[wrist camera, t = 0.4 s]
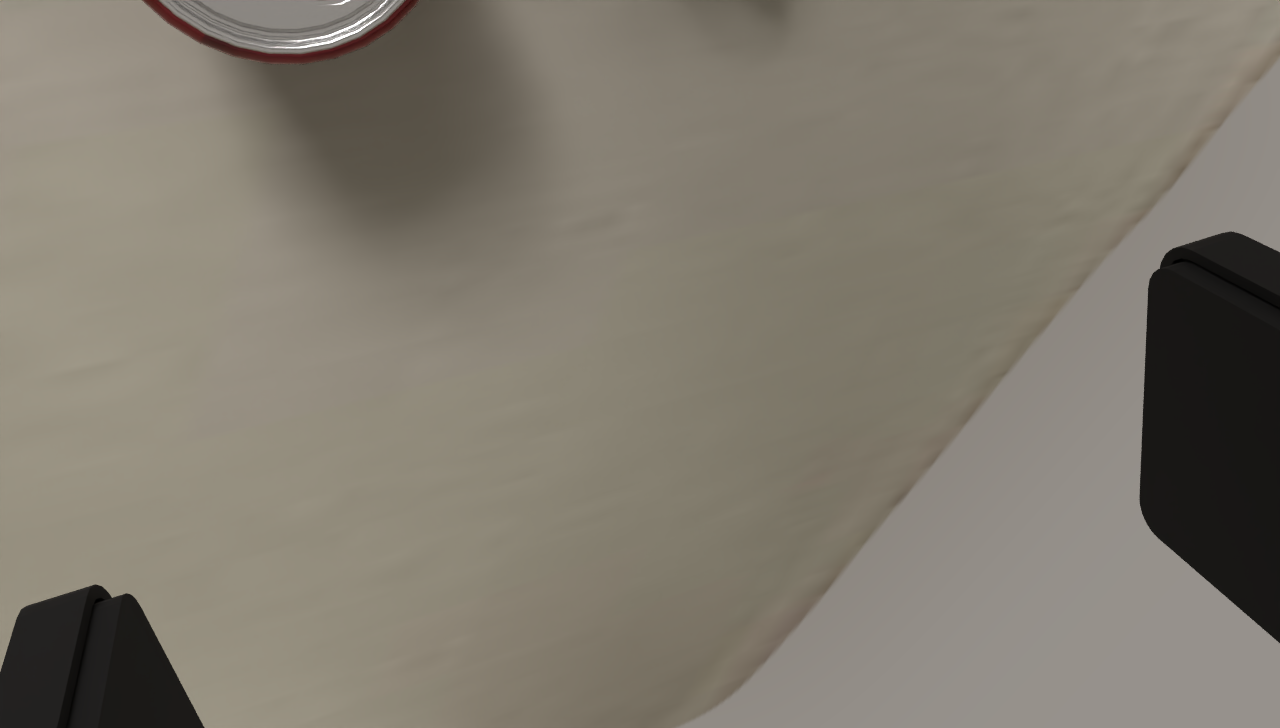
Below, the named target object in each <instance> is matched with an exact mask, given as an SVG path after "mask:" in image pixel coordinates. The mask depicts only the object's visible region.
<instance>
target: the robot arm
mask: <svg viewBox="0 0 1280 728" xmlns="http://www.w3.org/2000/svg"><path fill="white" fill-rule="evenodd" d="M1147 309H1148V310H1147V332H1146V356H1145V357H1146V358H1145V382H1144V404H1143V428H1142V452H1141V476H1140V506H1141V510H1142V514H1143V516H1144V519H1145V520H1146V523H1147V525H1148V526H1149V528H1150V529H1151V531H1152V532H1153V533H1154V534H1155V535H1156V536H1157V537H1158V538H1159V539H1160V540H1161V541H1162V542H1163V543H1165V544H1166V545H1167V546H1168V547H1169V548H1170V549H1172V550H1173V551H1174V552H1175V553H1176V554H1177V555H1178V556H1180V557H1181V558H1182V559H1183V560H1184V561H1185V562H1187V563H1188V564H1189V565H1190V566H1191V567H1192V568H1194V569H1195V570H1196V571H1197V572H1198V573H1199V574H1200V575H1202V576H1203V577H1204V578H1205V579H1206V580H1207V581H1209V582H1210V583H1211V584H1212V585H1213V586H1214V587H1216V588H1217V589H1218V590H1219V591H1220V592H1221V593H1222V594H1224V595H1225V596H1226V597H1227V598H1228V599H1229V600H1231V601H1232V602H1233V603H1234V604H1235V605H1236V606H1237V607H1239V608H1240V609H1241V610H1242V611H1243V612H1244V613H1246V614H1247V615H1248V616H1249V617H1250V618H1251V619H1252V620H1254V621H1255V622H1256V623H1257V624H1258V625H1260V626H1261V627H1262V628H1263V629H1264V630H1265V631H1266V632H1268V633H1269V634H1270V635H1271V636H1272V637H1273V638H1274V639H1276V640H1277V641H1278V642H1279V643H1280V252H1278V251H1276V250H1273V249H1272V248H1269V247H1268V246H1265V245H1263V244H1261V243H1259V242H1257V241H1255V240H1253V239H1251V238H1249V237H1246V236H1244V235H1242V234H1239V233H1235V232H1226V233H1221V234H1218V235H1215V236H1211V237H1208V238H1205V239H1202V240H1199V241H1195V242H1192V243H1189V244H1186V245H1183V246H1180V247H1176V248H1173V249H1172V250H1170V251H1169V252H1168V253H1166V255H1165V256H1164V258H1163V260H1162V262H1161V265H1160V269H1158V270H1157V271H1156V272H1154V273H1153V275H1152V277H1151V278H1150V281H1149V288H1148V308H1147ZM0 728H204V726H203V724H202V722H201V721H200V719H199V717H198V715H197V713H196V711H195V709H194V707H193V705H192V703H191V702H190V700H189V698H188V696H187V694H186V692H185V690H184V688H183V686H182V684H181V683H180V681H179V679H178V677H177V675H176V673H175V671H174V669H173V667H172V665H171V664H170V662H169V660H168V658H167V656H166V654H165V652H164V650H163V648H162V646H161V644H160V643H159V641H158V639H157V637H156V635H155V633H154V631H153V629H152V627H151V625H150V624H149V622H148V620H147V618H146V616H145V614H144V612H143V610H142V608H141V607H140V605H139V603H138V602H137V600H136V599H135V598H134V597H133V596H132V595H130V594H127V593H126V594H123V595H120V596H117V597H114V598H112V597H111V596H110V594H109V593H108V592H107V591H106V590H105V589H104V588H103V587H102V586H99V585H92V586H89V587H86V588H83V589H80V590H76V591H73V592H70V593H67V594H64V595H60V596H57V597H54V598H51V599H48V600H44V601H41V602H38V603H35V604H31V605H28V606H26V607H24V608H23V609H21V611H20V613H19V615H18V617H17V619H16V623H15V626H14V629H13V632H12V636H11V639H10V642H9V646H8V649H7V652H6V655H5V659H4V662H3V665H2V668H1V672H0Z"/></svg>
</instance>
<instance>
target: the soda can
mask: <svg viewBox="0 0 1280 728" xmlns="http://www.w3.org/2000/svg"><path fill="white" fill-rule="evenodd" d="M142 1H143V2H144V3H145V4H146V5H148V6H149V7H150V8H151V9H152V10H153V11H154V12H155V13H157V14H158V15H159V16H160V17H161V18H162V19H163V20H164V21H166V22H167V23H168V24H170V25H171V26H173V27H174V28H176V29H178V30H179V31H181V32H182V33H184V34H186V35H187V36H189V37H191V38H192V39H194V40H195V41H197V42H199V43H200V44H203V45H205V46H208V47H210V48H213V49H215V50H218V51H220V52H223V53H225V54H228V55H230V56H233V57H237V58H242V59H247V60H252V61H257V62H262V63H267V64H308V63H313V62H319V61H324V60H330V59H335V58H338V57H341V56H343V55H346V54H348V53H351V52H353V51H356V50H358V49H361V48H363V47H366V46H368V45H369V44H371V43H372V42H374V41H375V40H377V39H378V38H380V37H381V36H383V35H384V34H386V33H387V32H389V31H390V30H392V29H393V28H394V27H395V26H396V25H397V24H398V23H399V22H400V21H401V20H402V19H403V18H404V17H405V16H406V15H407V14H408V13H409V12H410V11H411V10H412V9H413V8H414V7H415V6H416V5H417V4H418V2H419V1H420V0H142Z"/></svg>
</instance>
